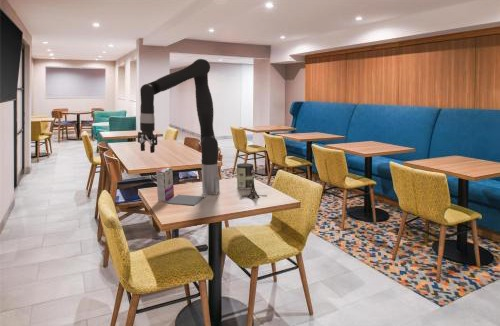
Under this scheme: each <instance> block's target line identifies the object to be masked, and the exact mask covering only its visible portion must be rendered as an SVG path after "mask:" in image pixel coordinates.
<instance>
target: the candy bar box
mask: <svg viewBox="0 0 500 326" xmlns="http://www.w3.org/2000/svg"><path fill="white" fill-rule="evenodd" d="M173 173H174V172H173V167H162V169H159V170H157V171H155V175H156V186H157V201H158V202H166V201H168V200H170V199H171V198H173V197H175V192H174V191H175V190H174V189H175V188H174V174H173Z"/></svg>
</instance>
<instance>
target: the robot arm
mask: <svg viewBox="0 0 500 326" xmlns="http://www.w3.org/2000/svg"><path fill="white" fill-rule="evenodd" d="M210 71H211V65H210V62H209V61H208V60H207V59H205V58H198V59H195V60H194V61H193V62H192V63H191V64H189V65H188V66H186V67H184V68H182V69H180V70H179V69H178V70H177V71H174V72H171V73H169V74H166V75H164V76H162V77H159V78H157V79H156V80H153V81H151V82H148V83H145V84H143V85H142V86H140V90H139V91H140V117H139V129H140V131H137V143H138V144H139V145H140V151H141V152H145V150H146V144H145V143H146V142H148V143H149V150H150V151H149V152H150V154H153V153H155V151H156V149H155V146H157V145H158V134H157V133H154V132H155V127H156V124H155V120H156V119H155V105H154V101H155V95H157V94H159V93H162V92H165V91H168V90H170V89H172V88H174V87H177V86H178V85H180V84H182V83H184V82H186V81H188V80H191V79H193V80H194V87H195V104H196V105H195V106H196V112H197V118H198V123H199V128H200V130H199V131H200V147H201V160H200V162H201V184H202V186H201V187H202V188H201V189H202V194H204V195H217V194H218V193H220V191H221V189H220V186H221V185H220V175H219V169H218V168H219V162H218V160H219V143H218V140H217V138H216V136H215V131H214V101H213V97H212V93H211V91H210V87H209V80H208V76H209V72H210Z"/></svg>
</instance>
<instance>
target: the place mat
mask: <svg viewBox="0 0 500 326" xmlns="http://www.w3.org/2000/svg"><path fill="white" fill-rule="evenodd" d="M206 198H207V196H201V195H190V194H177V195H174V196H173V197H172V198H170V199H169V200H167V201H164V204H170V205H171V204H172V205H181V206H182V205H183V206H193V207H194V206H196V205H197V204H199V203H200V202H202V201H203V200H205V199H206Z"/></svg>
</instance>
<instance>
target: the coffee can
mask: <svg viewBox="0 0 500 326" xmlns="http://www.w3.org/2000/svg"><path fill="white" fill-rule="evenodd" d="M253 177H254V163H247V162H246V163H244V162H243V163H237V164H236V188H237V189H239V190H250V189H251V188H252V182H253Z"/></svg>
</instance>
